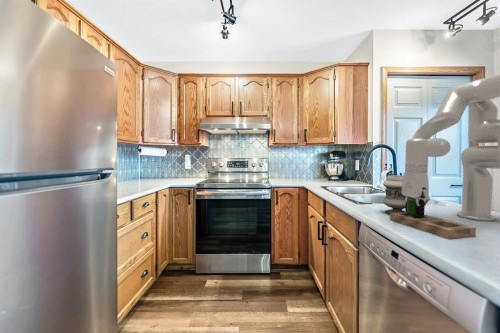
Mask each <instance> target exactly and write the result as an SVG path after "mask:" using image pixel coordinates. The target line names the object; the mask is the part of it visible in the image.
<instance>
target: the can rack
mask: <svg viewBox="0 0 500 333" xmlns="http://www.w3.org/2000/svg"><path fill="white" fill-rule="evenodd" d="M389 220H390V221H392V222H395V223H398V224H401V225H405V226H407V227H410V228H412V229H413V228H414V229H417V230H420V231H423V232H425V233H428V232H429V234H431V233H432V235H434V234H435V235H434V236H438V237H441V238H442V239H443V238H444V239H446V240H454V239H455V240H456V239H463V238H465V239H466V238H474V237H476V236H477V227H476V226H471V225H468V224H467V225H466V224H464V223H458V222H455V221H451V220H448V219H444V218H440V217H439V218H438V217H436V216H432V215H428V214H424V216H422V218H412V217H408V216H407V212H399V213H390V214H389Z"/></svg>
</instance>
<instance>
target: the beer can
mask: <svg viewBox="0 0 500 333" xmlns="http://www.w3.org/2000/svg"><path fill="white" fill-rule="evenodd" d="M418 198H422V196H420V197H418ZM419 201H421V200H419ZM415 206H417V203H416V198H411V197H409V196H407V216H408V217H412V218H422V216H416V215H415Z"/></svg>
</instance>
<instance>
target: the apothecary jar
mask: <svg viewBox="0 0 500 333" xmlns="http://www.w3.org/2000/svg"><path fill="white" fill-rule="evenodd" d="M403 176H404V175H396V174H395V175H394V174H393V175H390V174H389V175H387V177H386V179H385V180H384V181H383V183H382V184H383V186H384V187H385V197H384V198H383V199H382V202H383V204H384V205H385V206H386V207H389V208H391V209H387V210H385V211H384V213H386V215H390V213H399V212H406V211H405V206H406V202H405V198H404V195H403V194H402V182H403Z"/></svg>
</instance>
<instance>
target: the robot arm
mask: <svg viewBox="0 0 500 333" xmlns="http://www.w3.org/2000/svg"><path fill="white" fill-rule="evenodd" d="M497 98H500V74H495V75H492V76H489V77H484V78H480V79H476V80H471V81H469V82H465V83H460V84H458V85H454V86H452V87H450V88H449V89H448V90H447V92H446V94H445V96H444V98H443V99H442V101H441V104H440V105H439V106H438V109H437V111H436V113H435V115H434V116H432V117H431V118H429V119H428V120H427V121H426V122H425V123H423V124H422V125H421V126H420V127H419V128H418V129H417V130H416V131H415V132H414V134H413V135H412V137H411V138H409V139H407V140H406V142H405V159H404V160H405V163H404V164H405V165H404V173H403V175H402V176H403V182H402V194H403V195H404V198H405V202H406V206H405V209H404V211H406V212H407V196H409V197H411V198H416V203H417V206H415V215H416V216H424V215H425V210H426V209H425V207H426V205H427V204H428V202H429V201H430V200H431V198H430V196H429V190H430V189H429V188H430V186H429V185H430V184H429V176H428V175H429V172H428V169H429V166H428V165H429V158H440V157H441V158H442V157H444V156H446V155H447V154H449V153H450V150H451V144H450V142H449V141H448V140H447V139H444V138H442V137H441V138H440V137H438V138H436V137H435V138H431V137H433V136H434V135H436V134H438V133H439V132H442V131H444V130H446V129H448V128H451V127H453V126H455V125H457V124H458V123H459V122H460V121H461V119H462V117H463V115H464V112H465V111H466V109H467V107H468V108H469V112H470V117H469V118H470V119H469V127H468V140H469V141H470V142H472V143H474V144H491V143H492V144H495V143H497V145H475V146H469V147H467V148H465V149H464V150H463V151H462V153H461V156H460V160H461V165H462V195H461V196H462V197H461V211H457V212H456V215H457V216H459V217H461V218H464V219H469V220H473V221H474V220H476V221H484V222H487V221H488V222H489V221H490V222H493V221H496V219H497V218H496V216H494V215H492V198H493V196H492V195H493V182H494V180H493V176H492V174H491V173H490V171H489V170H488V169H497V170H500V119H498V107H497V106H496V104H495V103H494V102H493V101H492V100H494V99H497ZM420 196H422V198H418V197H420ZM419 200H421V201H419Z"/></svg>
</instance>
